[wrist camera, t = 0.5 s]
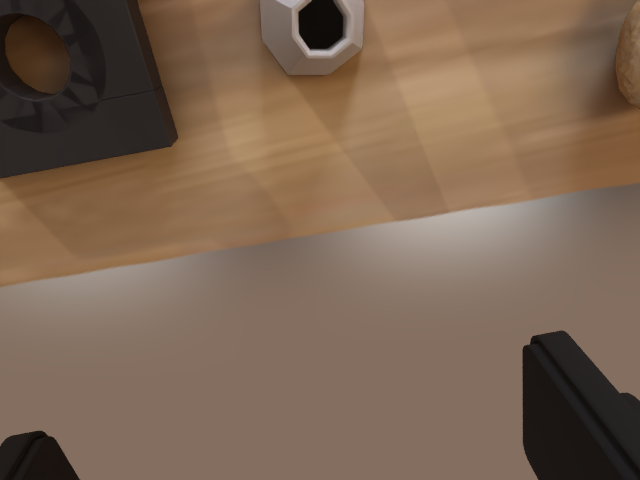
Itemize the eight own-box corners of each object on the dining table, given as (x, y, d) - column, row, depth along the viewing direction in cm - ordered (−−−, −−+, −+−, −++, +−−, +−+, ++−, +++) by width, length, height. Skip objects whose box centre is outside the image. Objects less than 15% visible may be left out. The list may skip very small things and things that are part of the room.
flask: (280, 91, 34) (278, 120, 25) (241, -19, 31) (224, -30, 22) (377, 57, 34) (411, 74, 25) (348, -58, 31) (374, -86, 22)
